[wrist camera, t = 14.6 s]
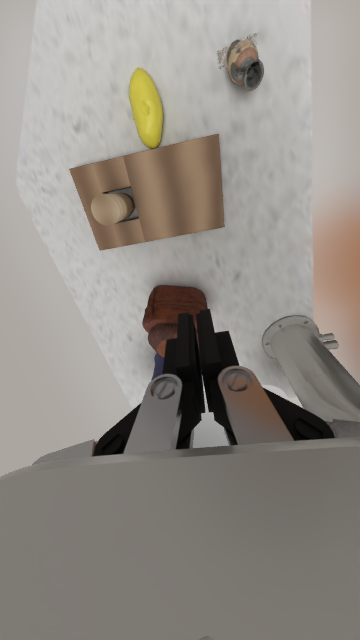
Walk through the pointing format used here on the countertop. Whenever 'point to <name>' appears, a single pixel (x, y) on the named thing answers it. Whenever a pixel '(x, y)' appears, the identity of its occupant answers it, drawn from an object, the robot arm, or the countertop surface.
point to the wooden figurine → (170, 313)
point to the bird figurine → (243, 63)
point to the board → (158, 191)
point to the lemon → (146, 108)
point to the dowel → (111, 208)
